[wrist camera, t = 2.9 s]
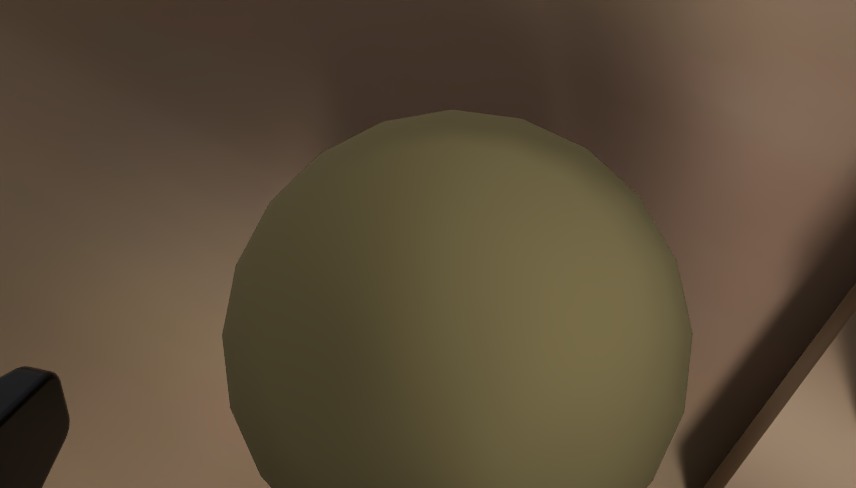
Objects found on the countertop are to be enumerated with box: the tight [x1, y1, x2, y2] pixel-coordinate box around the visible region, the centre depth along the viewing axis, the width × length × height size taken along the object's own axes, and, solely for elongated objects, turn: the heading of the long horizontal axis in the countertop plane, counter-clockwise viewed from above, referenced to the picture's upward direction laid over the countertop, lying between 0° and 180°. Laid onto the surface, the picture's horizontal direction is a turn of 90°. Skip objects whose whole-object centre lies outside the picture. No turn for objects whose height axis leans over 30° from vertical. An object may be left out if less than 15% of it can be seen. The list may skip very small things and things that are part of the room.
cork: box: [222, 109, 692, 488], centre depth 13 cm, size 6×6×11 cm
